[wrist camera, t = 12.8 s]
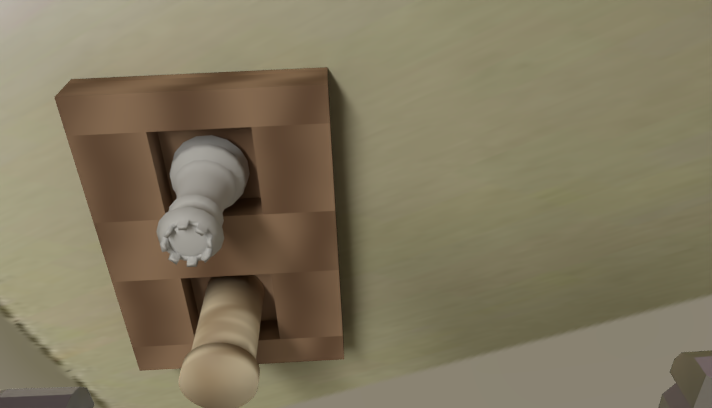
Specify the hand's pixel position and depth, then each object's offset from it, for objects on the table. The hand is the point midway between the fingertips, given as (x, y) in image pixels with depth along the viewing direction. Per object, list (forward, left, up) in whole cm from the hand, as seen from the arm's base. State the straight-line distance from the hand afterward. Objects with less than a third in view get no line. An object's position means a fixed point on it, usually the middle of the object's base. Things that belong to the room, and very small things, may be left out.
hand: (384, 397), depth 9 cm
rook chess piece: (+8, +10, -27) cm, 30 cm away
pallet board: (+8, +15, -27) cm, 32 cm away
